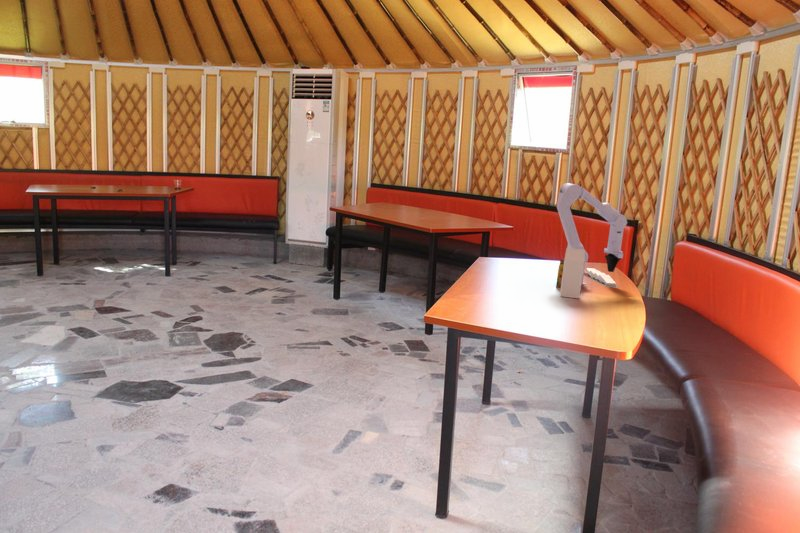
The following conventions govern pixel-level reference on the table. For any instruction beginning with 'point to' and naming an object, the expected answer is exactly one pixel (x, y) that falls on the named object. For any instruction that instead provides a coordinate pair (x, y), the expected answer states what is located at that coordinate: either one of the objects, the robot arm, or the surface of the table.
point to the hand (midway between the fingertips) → (610, 271)
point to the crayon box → (560, 274)
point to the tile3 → (594, 273)
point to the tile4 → (589, 271)
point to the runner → (600, 282)
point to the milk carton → (572, 273)
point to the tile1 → (607, 280)
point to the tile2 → (598, 276)
